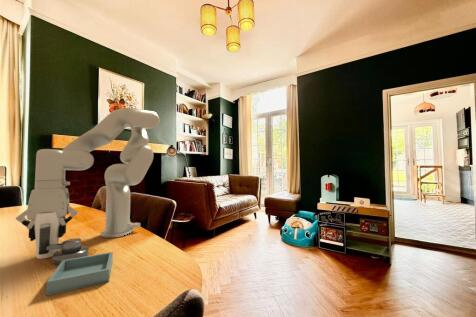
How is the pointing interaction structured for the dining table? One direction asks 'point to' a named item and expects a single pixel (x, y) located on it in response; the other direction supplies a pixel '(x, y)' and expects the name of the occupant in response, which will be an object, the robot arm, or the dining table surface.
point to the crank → (65, 246)
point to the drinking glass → (53, 232)
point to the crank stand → (69, 255)
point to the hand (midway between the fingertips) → (47, 237)
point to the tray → (80, 273)
